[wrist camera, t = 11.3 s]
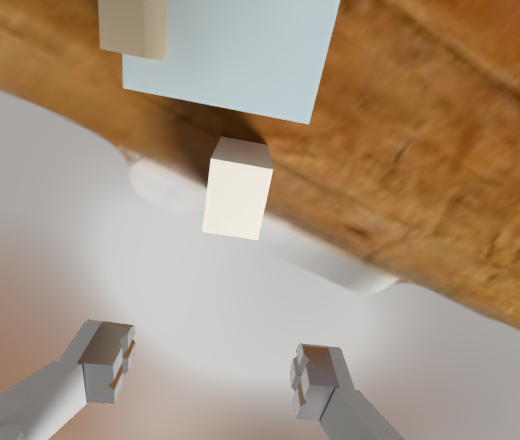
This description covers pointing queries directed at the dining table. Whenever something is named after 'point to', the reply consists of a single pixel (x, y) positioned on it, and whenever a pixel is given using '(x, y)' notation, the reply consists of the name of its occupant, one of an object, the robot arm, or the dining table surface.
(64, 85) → the dining table surface
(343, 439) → the robot arm
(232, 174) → the block
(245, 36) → the lid
